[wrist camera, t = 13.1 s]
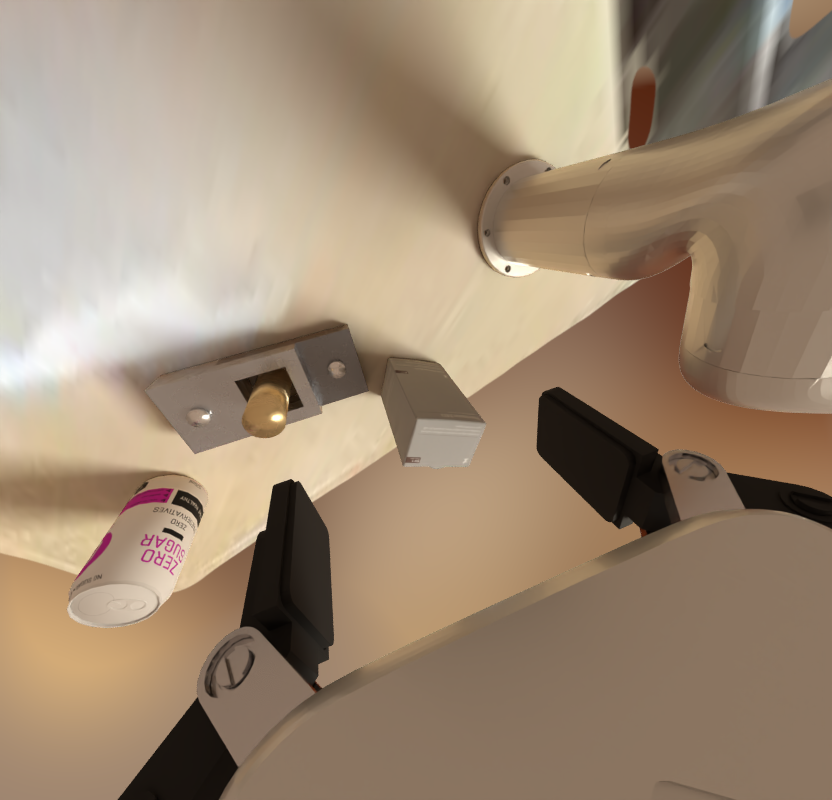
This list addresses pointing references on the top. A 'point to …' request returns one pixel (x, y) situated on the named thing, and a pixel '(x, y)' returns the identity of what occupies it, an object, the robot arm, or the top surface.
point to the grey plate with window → (230, 388)
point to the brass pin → (268, 404)
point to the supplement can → (139, 554)
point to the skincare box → (429, 415)
